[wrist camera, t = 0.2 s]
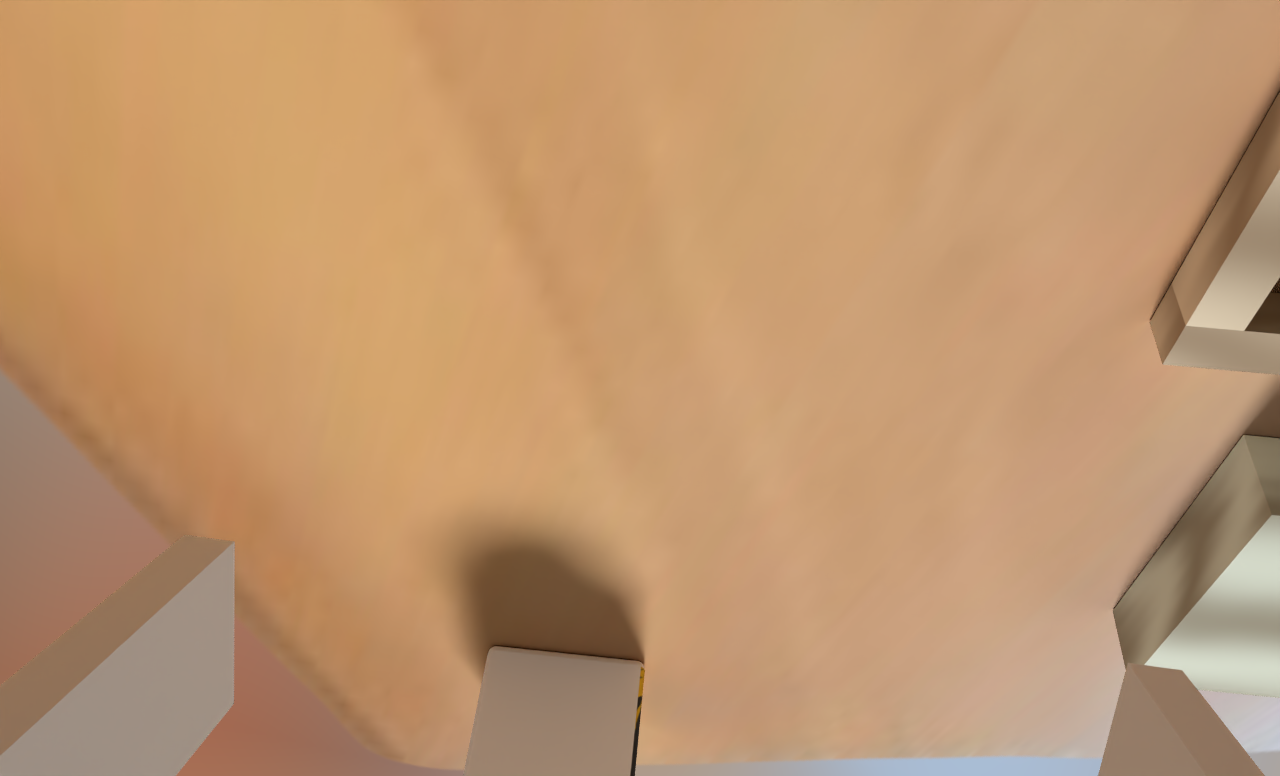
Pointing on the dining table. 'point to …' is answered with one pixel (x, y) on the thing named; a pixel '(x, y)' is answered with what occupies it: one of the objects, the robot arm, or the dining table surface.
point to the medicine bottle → (556, 715)
